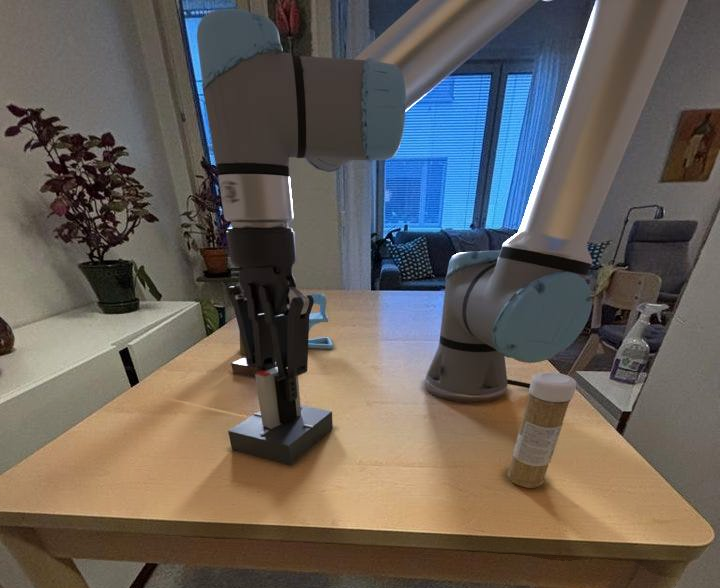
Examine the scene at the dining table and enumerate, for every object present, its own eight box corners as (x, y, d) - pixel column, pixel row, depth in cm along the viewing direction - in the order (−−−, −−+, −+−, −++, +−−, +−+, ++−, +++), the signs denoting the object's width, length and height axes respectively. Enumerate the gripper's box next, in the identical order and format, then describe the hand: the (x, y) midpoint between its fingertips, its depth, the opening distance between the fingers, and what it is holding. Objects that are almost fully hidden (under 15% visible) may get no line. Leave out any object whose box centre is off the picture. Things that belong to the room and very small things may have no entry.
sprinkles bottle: (516, 466, 53) (542, 367, 46) (549, 479, 51) (584, 377, 43) (500, 479, 50) (525, 377, 43) (535, 494, 48) (569, 388, 40)
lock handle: (293, 411, 60) (288, 361, 55) (301, 414, 59) (297, 363, 55) (262, 425, 56) (254, 372, 52) (271, 429, 55) (263, 375, 51)
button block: (296, 367, 86) (294, 348, 84) (272, 380, 79) (270, 360, 77) (259, 361, 89) (256, 343, 87) (233, 373, 83) (229, 354, 80)
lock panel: (333, 428, 62) (332, 410, 60) (291, 465, 53) (289, 445, 51) (279, 416, 65) (277, 398, 64) (231, 449, 56) (227, 429, 55)
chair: (297, 342, 103) (293, 291, 96) (329, 340, 104) (327, 290, 97) (299, 350, 96) (295, 297, 90) (333, 348, 98) (331, 296, 91)
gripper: (191, 224, 45) (229, 412, 59) (281, 227, 38) (300, 443, 51) (243, 223, 50) (267, 397, 63) (332, 225, 43) (338, 422, 56)
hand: (282, 417), depth 57 cm, fingers closed on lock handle, 2 cm apart
